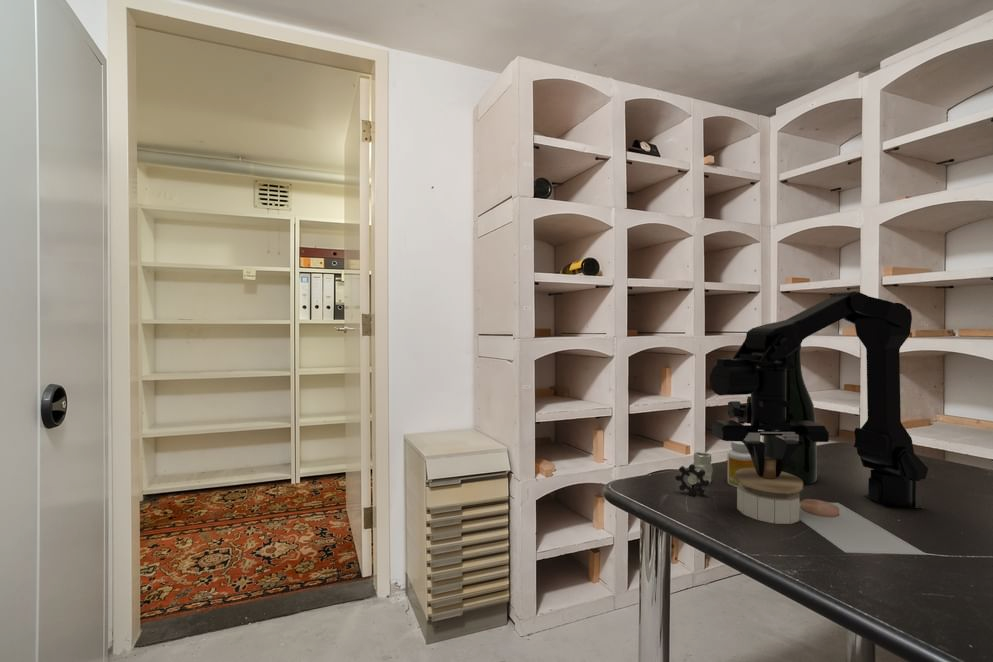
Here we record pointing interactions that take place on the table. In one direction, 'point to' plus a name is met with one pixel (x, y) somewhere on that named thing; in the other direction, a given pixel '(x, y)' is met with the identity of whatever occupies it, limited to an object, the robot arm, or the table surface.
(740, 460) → the supplement bottle
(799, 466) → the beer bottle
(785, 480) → the lid
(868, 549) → the mat
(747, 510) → the bowl
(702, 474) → the valve
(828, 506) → the pink glossy dome
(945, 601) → the table surface
